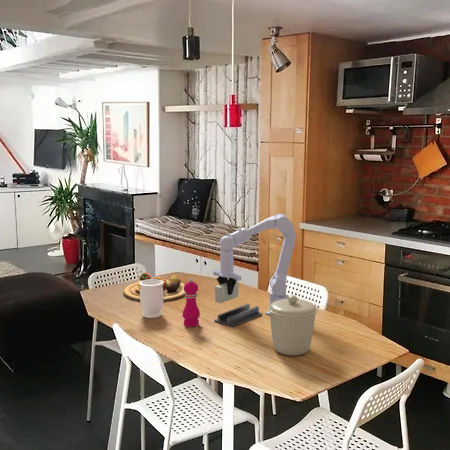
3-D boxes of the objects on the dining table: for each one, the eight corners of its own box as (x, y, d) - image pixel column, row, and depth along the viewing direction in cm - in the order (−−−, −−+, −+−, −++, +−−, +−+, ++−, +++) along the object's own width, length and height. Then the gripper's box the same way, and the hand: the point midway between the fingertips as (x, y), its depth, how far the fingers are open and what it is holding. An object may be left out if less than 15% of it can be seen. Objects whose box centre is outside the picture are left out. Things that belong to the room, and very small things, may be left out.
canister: (284, 337, 220) (285, 285, 216) (325, 349, 209) (327, 294, 205) (257, 351, 206) (258, 296, 202) (299, 364, 195) (301, 306, 191)
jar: (162, 319, 240) (161, 285, 237) (138, 319, 240) (137, 285, 237) (165, 311, 250) (164, 278, 248) (142, 311, 251) (141, 278, 248)
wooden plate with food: (120, 287, 289) (119, 271, 287) (180, 281, 298) (180, 266, 297) (128, 307, 259) (127, 290, 257) (195, 300, 268) (195, 283, 267)
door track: (244, 309, 252) (244, 302, 252) (262, 314, 246) (262, 307, 245) (214, 321, 237) (214, 314, 237) (232, 327, 231) (232, 319, 230)
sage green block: (233, 295, 251) (233, 280, 250) (239, 297, 249) (239, 281, 248) (215, 301, 242) (214, 286, 241) (221, 303, 240) (221, 287, 239)
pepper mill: (197, 328, 230) (197, 281, 226) (180, 326, 231) (179, 280, 228) (201, 322, 237) (201, 276, 233) (185, 320, 238) (184, 275, 235)
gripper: (208, 262, 245) (208, 292, 247) (233, 268, 235) (233, 299, 238) (219, 259, 250) (219, 289, 252) (244, 264, 240) (244, 295, 243)
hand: (227, 293), depth 245 cm, fingers closed on sage green block, 3 cm apart
